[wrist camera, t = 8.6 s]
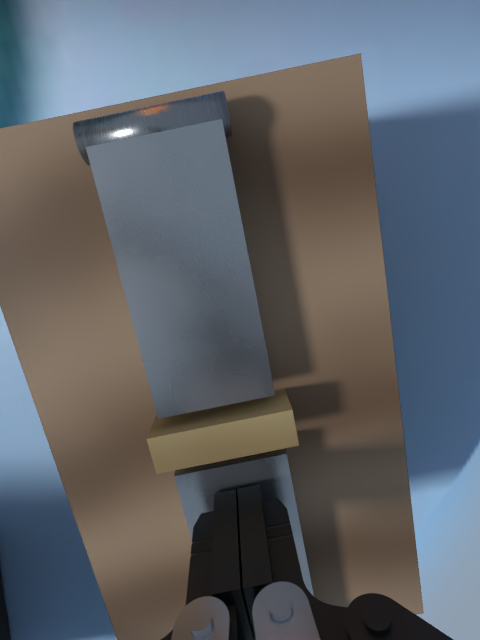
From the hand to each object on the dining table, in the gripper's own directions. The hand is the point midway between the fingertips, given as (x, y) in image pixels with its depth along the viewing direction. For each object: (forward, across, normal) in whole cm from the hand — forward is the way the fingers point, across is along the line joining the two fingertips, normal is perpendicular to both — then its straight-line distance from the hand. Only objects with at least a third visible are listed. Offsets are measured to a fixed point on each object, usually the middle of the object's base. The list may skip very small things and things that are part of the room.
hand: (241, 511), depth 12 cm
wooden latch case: (+9, 0, -3) cm, 10 cm away
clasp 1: (+1, 0, -8) cm, 8 cm away
